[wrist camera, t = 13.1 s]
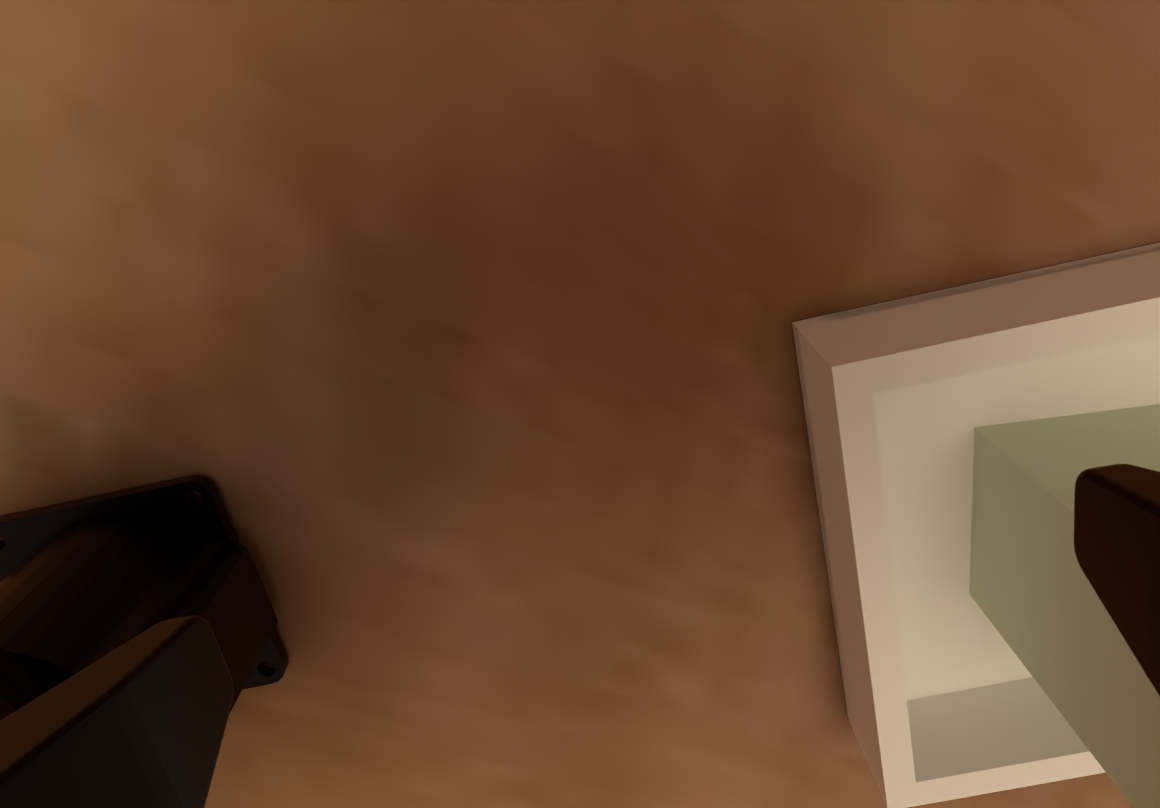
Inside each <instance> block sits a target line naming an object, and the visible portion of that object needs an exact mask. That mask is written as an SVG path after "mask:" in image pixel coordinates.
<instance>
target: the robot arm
mask: <svg viewBox="0 0 1160 808" xmlns="http://www.w3.org/2000/svg"><path fill="white" fill-rule="evenodd" d="M189 490H190V491H196V492H198V493H199V494H200V495H201V496H202V499H203V501H197V500H195V499H193V498H192V497H191V495H190V493H189ZM0 535H2V537H3V538H4V539H5V542H4V541H2V540H0V808H204V807H205V803H206V799H207V795H208V791H209V788H210V784H211V780H212V776H213V773H214V769H215V765H216V761H217V757H218V754H219V750H220V746H221V742H222V739H223V735H224V731H225V727H226V723H227V720H228V716H229V713H230V712H231V710H232V708H233V706H234V704H235V702H236V700H237V698H238V696H239V695H240V693H241V691H242V689H246V688H251V687H256V686H261V685H267V684H272V683H275V682H277V681H279V680H280V679H281V678H282V677H283V675H284V673H285V671H286V669H287V666H288V663H289V662H288V657H287V654H286V652H285V649H284V647H283V645H282V642H281V640H280V638H279V635H278V633H277V630H276V628H275V627H276V625H277V618H276V615H275V613H274V611H273V608H272V606H271V603H270V601H269V599H268V596H267V594H266V591H265V589H264V587H263V584H262V582H261V579H260V577H259V575H258V572H257V570H256V567H255V565H254V563H253V560H252V558H251V555H250V553H249V551H248V549H247V548H246V547H245V546H244V545H242V544H241V543H240V542H239V540H238V538H237V535H236V533H235V530H234V528H233V526H232V523H231V521H230V518H229V516H228V514H227V511H226V509H225V507H224V504H223V502H222V499H221V497H220V495H219V492H218V490H217V488H216V486H215V485H214V483H213V482H212V481H210V480H209V479H208V478H206V477H203V476H200V475H193V476H187V477H183V478H178V479H173V480H169V481H164V482H159V483H155V484H150V485H145V486H141V487H136V488H132V489H127V490H122V491H118V492H113V493H108V494H104V495H99V496H94V497H90V498H85V499H80V500H76V501H71V502H66V503H62V504H57V505H53V506H48V507H43V508H39V509H34V510H29V511H25V512H20V513H15V514H11V515H6V516H1V517H0ZM1074 550H1075V554H1076V558H1077V561H1078V563H1079V566H1080V567H1081V569H1082V571H1083V573H1084V574H1085V576H1086V578H1087V579H1088V581H1089V583H1090V584H1091V586H1092V587H1093V589H1094V591H1095V592H1096V594H1097V596H1098V597H1099V599H1100V601H1101V602H1102V604H1103V606H1104V607H1105V609H1106V610H1107V612H1108V614H1109V615H1110V617H1111V619H1112V620H1113V622H1114V624H1115V625H1116V627H1117V629H1118V630H1119V632H1120V633H1121V635H1122V637H1123V638H1124V640H1125V642H1126V643H1127V645H1128V647H1129V648H1130V650H1131V651H1132V653H1133V655H1134V656H1135V658H1136V660H1137V661H1138V663H1139V665H1140V666H1141V668H1142V670H1143V671H1144V673H1145V674H1146V676H1147V678H1148V679H1149V681H1150V682H1151V684H1152V685H1153V687H1154V688H1155V690H1156V691H1157V693H1158V694H1159V696H1160V472H1159V471H1155V470H1151V469H1147V468H1143V467H1139V466H1135V465H1131V464H1125V463H1122V464H1113V465H1107V466H1101V467H1095V468H1089V469H1086V470H1083V471H1082V472H1081V473H1080V474H1079V475H1078V476H1077V479H1076V482H1075V492H1074ZM263 662H269V663H271V664H273V665H274V667H268V666H265V665H264V663H263Z"/></svg>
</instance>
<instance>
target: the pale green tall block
mask: <svg viewBox="0 0 1160 808" xmlns="http://www.w3.org/2000/svg"><path fill="white" fill-rule="evenodd" d="M1122 463H1125V464H1131V465H1135V466H1139V467H1143V468H1147V469H1151V470H1155V471H1159V472H1160V404H1155V405H1147V406H1139V407H1132V408H1124V409H1116V410H1108V411H1100V412H1092V413H1084V414H1076V415H1068V416H1060V417H1052V418H1044V419H1036V420H1029V421H1021V422H1013V423H1005V424H997V425H989V426H981V427H975V433H974V464H973V494H972V525H971V555H970V586H969V594H970V596H971V597H972V598H973V599H974V601H975V602H976V603H977V605H978V606H979V607H980V609H981V610H982V611H983V613H984V614H985V615H986V616H987V618H988V619H989V620H990V622H991V623H992V624H993V626H994V627H995V628H996V630H997V631H998V632H999V633H1000V635H1001V636H1002V637H1003V639H1004V640H1005V641H1006V643H1007V644H1008V645H1009V646H1010V648H1011V649H1012V650H1013V652H1014V653H1015V654H1016V656H1017V657H1018V658H1019V660H1020V661H1021V662H1022V663H1023V665H1024V666H1025V667H1026V669H1027V670H1028V671H1029V673H1030V674H1031V675H1032V677H1033V678H1034V679H1035V680H1036V682H1037V683H1038V684H1039V686H1040V687H1041V688H1042V690H1043V691H1044V692H1045V693H1046V695H1047V696H1048V697H1049V699H1050V700H1051V701H1052V703H1053V704H1054V705H1055V707H1056V708H1057V709H1058V710H1059V712H1060V713H1061V714H1062V716H1063V717H1064V718H1065V720H1066V721H1067V722H1068V724H1069V725H1070V726H1071V727H1072V729H1073V730H1074V731H1075V733H1076V734H1077V735H1078V737H1079V738H1080V739H1081V740H1082V742H1083V743H1084V744H1085V746H1086V747H1087V748H1088V750H1089V751H1090V752H1091V754H1092V755H1093V756H1094V757H1095V759H1096V760H1097V761H1098V763H1099V764H1100V765H1101V767H1102V768H1103V769H1104V771H1105V772H1106V773H1107V774H1108V776H1109V777H1110V778H1111V780H1112V781H1113V782H1114V784H1115V785H1116V786H1117V788H1118V789H1119V790H1120V791H1121V793H1122V794H1123V795H1124V797H1125V798H1126V799H1127V801H1128V802H1129V803H1130V804H1131V806H1132V807H1133V808H1160V696H1159V694H1158V693H1157V691H1156V690H1155V688H1154V687H1153V685H1152V684H1151V682H1150V681H1149V679H1148V678H1147V676H1146V674H1145V673H1144V671H1143V670H1142V668H1141V666H1140V665H1139V663H1138V661H1137V660H1136V658H1135V656H1134V655H1133V653H1132V651H1131V650H1130V648H1129V647H1128V645H1127V643H1126V642H1125V640H1124V638H1123V637H1122V635H1121V633H1120V632H1119V630H1118V629H1117V627H1116V625H1115V624H1114V622H1113V620H1112V619H1111V617H1110V615H1109V614H1108V612H1107V610H1106V609H1105V607H1104V606H1103V604H1102V602H1101V601H1100V599H1099V597H1098V596H1097V594H1096V592H1095V591H1094V589H1093V587H1092V586H1091V584H1090V583H1089V581H1088V579H1087V578H1086V576H1085V574H1084V573H1083V571H1082V569H1081V567H1080V566H1079V563H1078V561H1077V558H1076V554H1075V550H1074V492H1075V482H1076V479H1077V476H1078V475H1079V474H1080V473H1081V472H1082V471H1083V470H1086V469H1089V468H1095V467H1101V466H1107V465H1113V464H1122Z"/></svg>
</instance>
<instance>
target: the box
mask: <svg viewBox="0 0 1160 808" xmlns="http://www.w3.org/2000/svg"><path fill="white" fill-rule="evenodd" d="M792 327H793V334H794V341H795V348H796V355H797V363H798V370H799V377H800V384H801V391H802V398H803V405H804V412H805V419H806V426H807V433H808V440H809V447H810V454H811V462H812V469H813V476H814V483H815V490H816V497H817V504H818V511H819V518H820V525H821V532H822V539H823V546H824V553H825V561H826V568H827V575H828V582H829V589H830V596H831V603H832V610H833V617H834V624H835V631H836V638H837V645H838V652H839V659H840V667H841V674H842V681H843V688H844V695H845V702H846V709H847V716H848V720H849V722H850V724H851V727H852V729H853V731H854V734H855V736H856V738H857V741H858V743H859V745H860V747H861V750H862V752H863V754H864V757H865V759H866V761H867V764H868V766H869V768H870V771H871V773H872V775H873V778H874V780H875V782H876V785H877V787H878V789H879V792H880V794H881V796H882V799H883V801H884V803H885V806H886V808H907V807H913V806H918V805H924V804H930V803H935V802H941V801H947V800H952V799H958V798H964V797H969V796H975V795H981V794H986V793H992V792H997V791H1003V790H1009V789H1014V788H1020V787H1026V786H1031V785H1037V784H1043V783H1048V782H1054V781H1060V780H1065V779H1071V778H1077V777H1082V776H1088V775H1094V774H1099V773H1105V771H1104V769H1103V768H1102V767H1101V765H1100V764H1099V763H1098V761H1097V760H1096V759H1095V757H1094V756H1093V755H1092V754H1091V752H1090V751H1089V750H1088V748H1087V747H1086V746H1085V744H1084V743H1083V742H1082V740H1081V739H1080V738H1079V737H1078V735H1077V734H1076V733H1075V731H1074V730H1073V729H1072V727H1071V726H1070V725H1069V724H1068V722H1067V721H1066V720H1065V718H1064V717H1063V716H1062V714H1061V713H1060V712H1059V710H1058V709H1057V708H1056V707H1055V705H1054V704H1053V703H1052V701H1051V700H1050V699H1049V697H1048V696H1047V695H1046V693H1045V692H1044V691H1043V690H1042V688H1041V687H1040V686H1039V684H1038V683H1037V682H1036V680H1035V679H1034V678H1033V677H1032V675H1031V674H1030V673H1029V671H1028V670H1027V669H1026V667H1025V666H1024V665H1023V663H1022V662H1021V661H1020V660H1019V658H1018V657H1017V656H1016V654H1015V653H1014V652H1013V650H1012V649H1011V648H1010V646H1009V645H1008V644H1007V643H1006V641H1005V640H1004V639H1003V637H1002V636H1001V635H1000V633H999V632H998V631H997V630H996V628H995V627H994V626H993V624H992V623H991V622H990V620H989V619H988V618H987V616H986V615H985V614H984V613H983V611H982V610H981V609H980V607H979V606H978V605H977V603H976V602H975V601H974V599H973V598H972V597H971V596H970V594H969V586H970V555H971V525H972V494H973V464H974V433H975V427H981V426H989V425H997V424H1005V423H1013V422H1021V421H1029V420H1036V419H1044V418H1052V417H1060V416H1068V415H1076V414H1084V413H1092V412H1100V411H1108V410H1116V409H1124V408H1132V407H1139V406H1147V405H1155V404H1160V242H1159V243H1155V244H1150V245H1146V246H1141V247H1136V248H1132V249H1127V250H1123V251H1118V252H1113V253H1109V254H1104V255H1099V256H1095V257H1090V258H1086V259H1081V260H1076V261H1072V262H1067V263H1063V264H1058V265H1053V266H1049V267H1044V268H1040V269H1035V270H1030V271H1026V272H1021V273H1017V274H1012V275H1007V276H1003V277H998V278H994V279H989V280H984V281H980V282H975V283H971V284H966V285H961V286H957V287H952V288H948V289H943V290H938V291H934V292H929V293H925V294H920V295H915V296H911V297H906V298H902V299H897V300H892V301H888V302H883V303H878V304H874V305H869V306H865V307H860V308H855V309H851V310H846V311H842V312H837V313H832V314H828V315H823V316H819V317H814V318H809V319H805V320H800V321H796V322H792Z"/></svg>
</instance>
